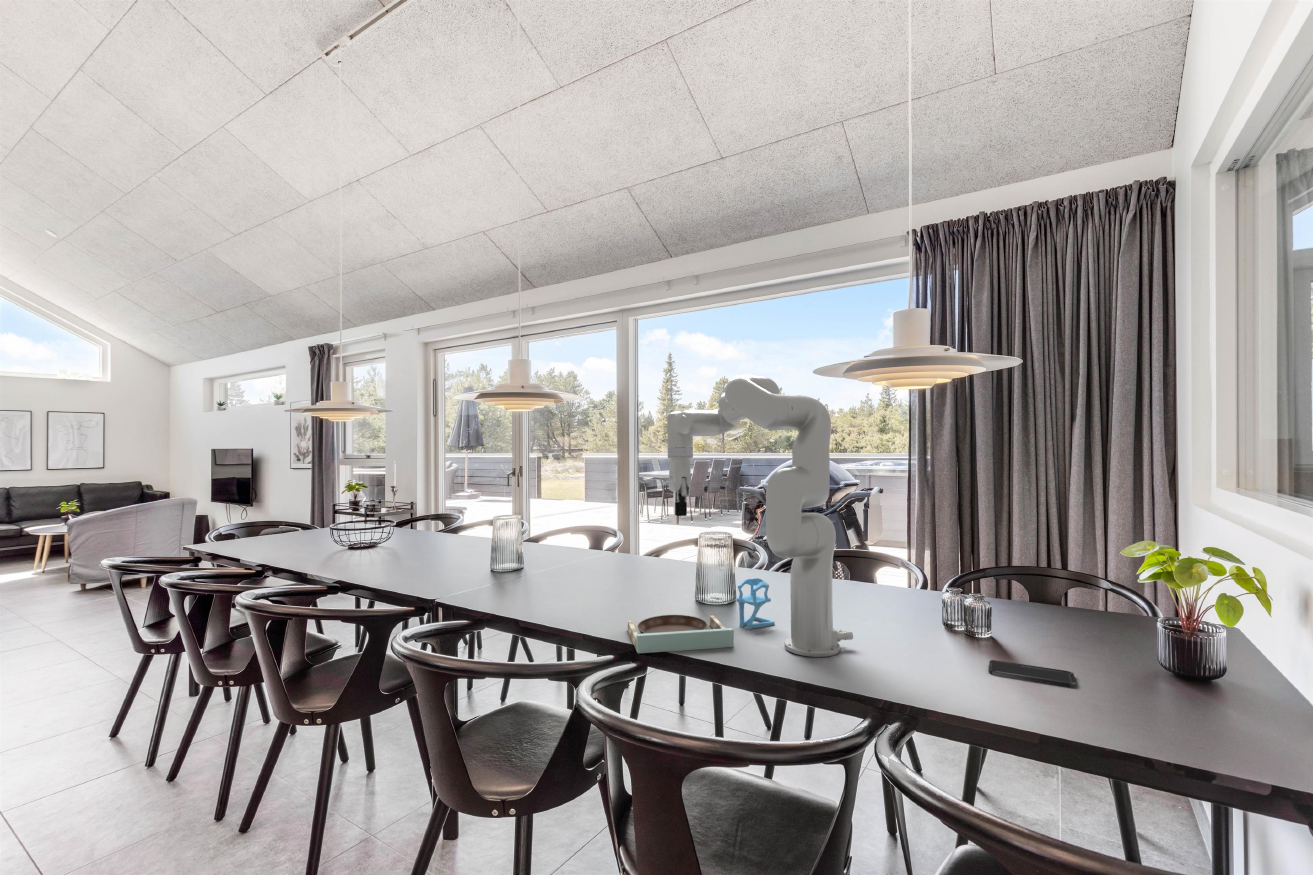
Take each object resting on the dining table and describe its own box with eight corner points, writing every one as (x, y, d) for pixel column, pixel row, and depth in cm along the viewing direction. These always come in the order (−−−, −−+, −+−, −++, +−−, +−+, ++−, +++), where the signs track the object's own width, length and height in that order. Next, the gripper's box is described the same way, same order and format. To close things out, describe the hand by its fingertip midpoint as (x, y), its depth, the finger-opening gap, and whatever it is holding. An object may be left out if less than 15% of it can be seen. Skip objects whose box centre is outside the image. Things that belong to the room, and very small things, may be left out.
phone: (1075, 684, 119) (988, 670, 127) (1076, 690, 119) (988, 675, 127) (1073, 671, 126) (989, 658, 133) (1073, 677, 126) (990, 664, 133)
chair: (732, 625, 163) (731, 579, 163) (752, 618, 168) (751, 575, 169) (755, 631, 157) (754, 584, 157) (775, 624, 163) (774, 579, 163)
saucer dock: (627, 630, 159) (627, 614, 159) (713, 624, 163) (713, 609, 163) (637, 653, 141) (637, 635, 141) (733, 646, 145) (733, 629, 145)
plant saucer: (664, 652, 142) (664, 639, 142) (624, 634, 157) (624, 622, 157) (722, 638, 152) (722, 626, 152) (679, 622, 167) (679, 610, 167)
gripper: (663, 453, 188) (663, 513, 188) (672, 454, 173) (673, 518, 173) (687, 453, 189) (687, 512, 189) (698, 453, 175) (699, 518, 175)
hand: (680, 515), depth 181 cm, fingers closed
